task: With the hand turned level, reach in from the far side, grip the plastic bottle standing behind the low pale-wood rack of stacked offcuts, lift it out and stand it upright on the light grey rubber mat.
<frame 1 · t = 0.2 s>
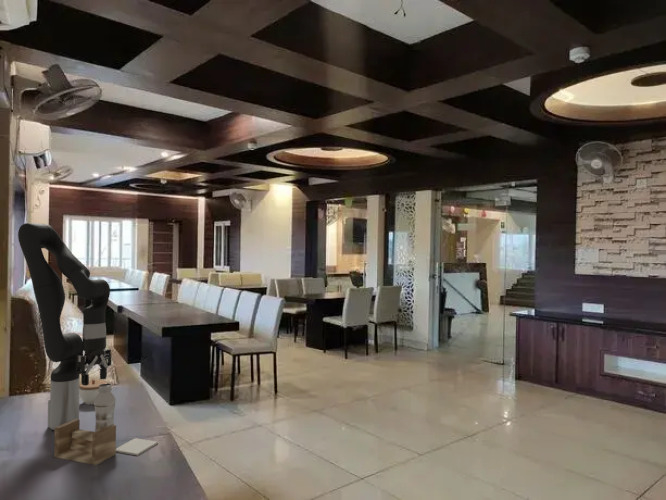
hand: (94, 382, 172), 17 cm above the table, tool pointing down, fingers open, 8 cm apart
lidded jar: (93, 402, 203), on the table
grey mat: (136, 447, 159), on the table
offcut rack: (85, 455, 152), on the table
plastic bottle: (104, 446, 160), on the table
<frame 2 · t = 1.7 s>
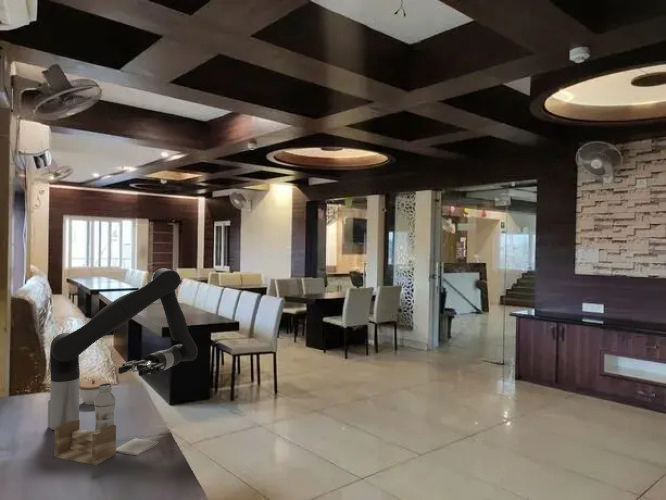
hand: (129, 372, 170), 22 cm above the table, tool horizontal, fingers open, 8 cm apart
nothing on the table moved.
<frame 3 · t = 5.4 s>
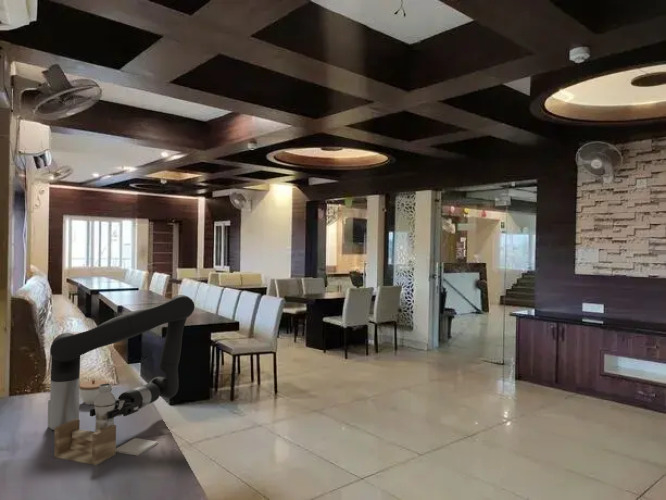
hand: (99, 414, 157), 11 cm above the table, tool horizontal, fingers closed on plastic bottle, 6 cm apart
plastic bottle: (104, 446, 160), on the table, touching gripper
everything else where it was.
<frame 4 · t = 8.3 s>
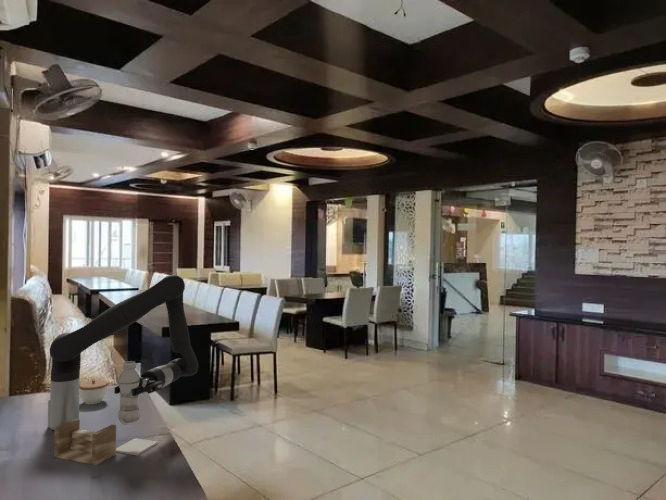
hand: (124, 391, 157), 19 cm above the table, tool horizontal, fingers closed on plastic bottle, 6 cm apart
plastic bottle: (129, 423, 159), point 7 cm above the table, touching gripper
everything else where it was.
when the fingers open (12 cm above the table, at t = 10.7 s): plastic bottle stays where it is, resting on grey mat.
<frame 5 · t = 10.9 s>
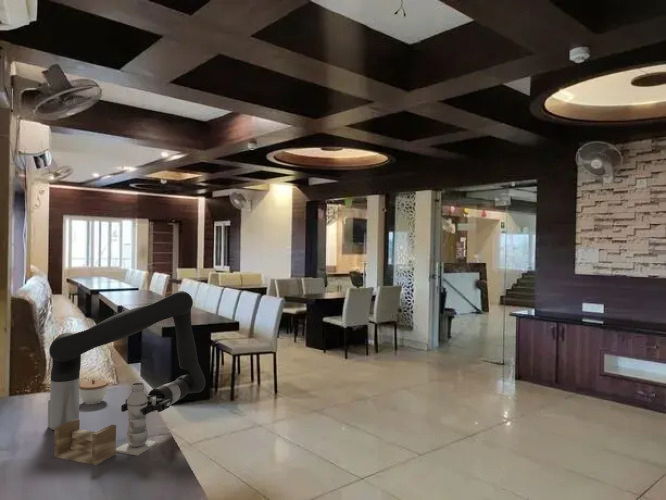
hand: (132, 410, 157), 13 cm above the table, tool horizontal, fingers open, 8 cm apart
plastic bottle: (137, 446, 159), resting on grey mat
everything else where it was.
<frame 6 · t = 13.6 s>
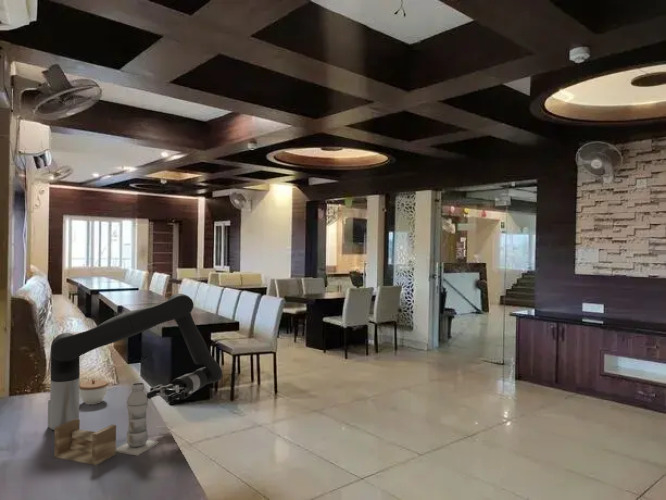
hand: (158, 397, 169), 13 cm above the table, tool horizontal, fingers open, 8 cm apart
nothing on the table moved.
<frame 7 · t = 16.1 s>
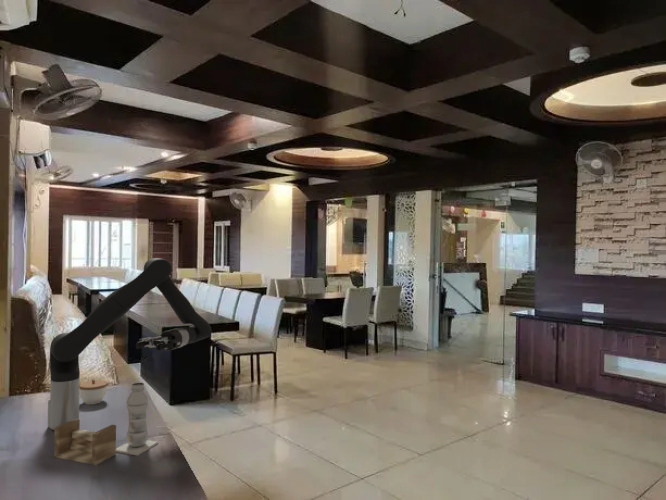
hand: (146, 346, 173), 30 cm above the table, tool horizontal, fingers open, 8 cm apart
nothing on the table moved.
at the end: plastic bottle inside the target area (0.2 cm from its centre), resting on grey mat; plastic bottle tilted 0°; the gripper is holding nothing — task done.
